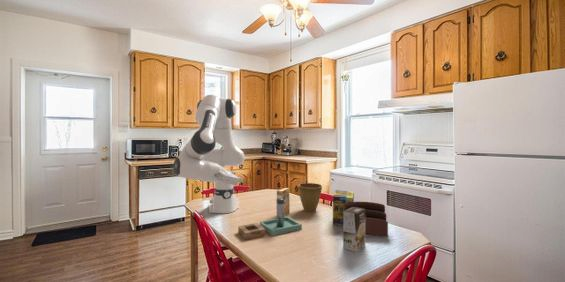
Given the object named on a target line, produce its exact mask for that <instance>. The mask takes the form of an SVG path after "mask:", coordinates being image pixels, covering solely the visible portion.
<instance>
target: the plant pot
mask: <svg viewBox="0 0 565 282" xmlns="http://www.w3.org/2000/svg"><path fill="white" fill-rule="evenodd" d="M297 187H298V192H299V193H298V194H299V199H300V203H301V205H302V209H303V211H305V212H309V213H313V212H316V210H317V208H318V205H319V202H320V199H321V195H322V190H323V185H322V184H319V183H313V182H304V183H303V182H302V183H299V184H298V186H297Z"/></svg>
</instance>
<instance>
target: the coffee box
mask: <svg viewBox="0 0 565 282" xmlns="http://www.w3.org/2000/svg"><path fill="white" fill-rule="evenodd" d="M365 220H366V209H363V208H358V207H351V208H349V209H346V210H344V218H343V226H342V229H343V233H342V234H343V235H342V241H343V242H342V243H343V244H342V248H343V249H347V250H349V251H353V252H359V251H360V250H361V249H362V248H363V247H364V246H365V245H366V236H365Z"/></svg>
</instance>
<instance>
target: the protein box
mask: <svg viewBox="0 0 565 282" xmlns="http://www.w3.org/2000/svg"><path fill="white" fill-rule="evenodd" d="M354 199H355V192H354V191H349V190H346V191H345V190H335V192H334V194H333V196H332V225H333V226H340V227H343V218H344V210H345V203H346V202H355V200H354Z"/></svg>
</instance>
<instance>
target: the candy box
mask: <svg viewBox="0 0 565 282" xmlns="http://www.w3.org/2000/svg"><path fill="white" fill-rule="evenodd" d="M277 198H284V217H286V216H287V215H289V214H290V213H291V211H290V206H291V205H290V188H288V187H282V188H280V189H278V190H276V199H277Z"/></svg>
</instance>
